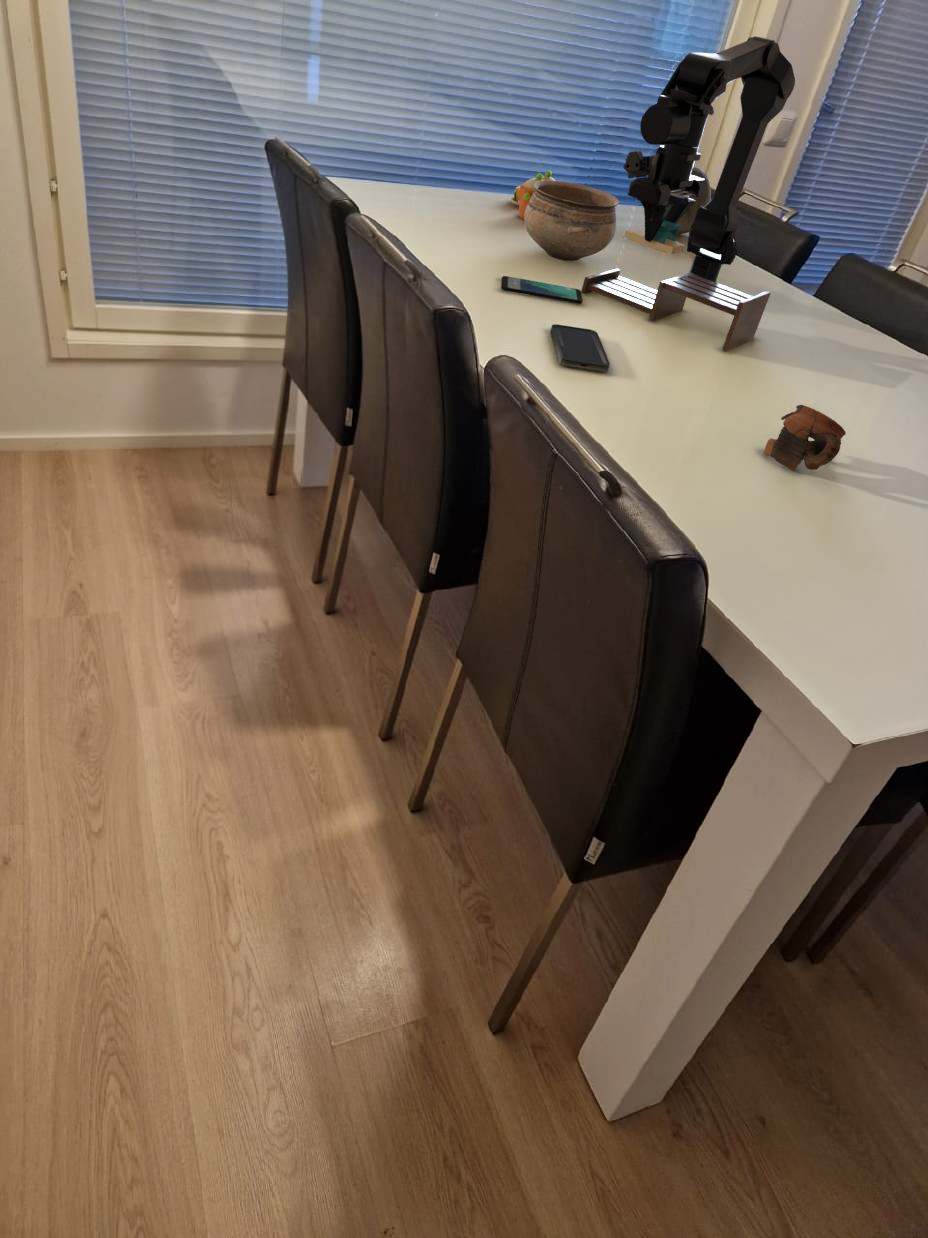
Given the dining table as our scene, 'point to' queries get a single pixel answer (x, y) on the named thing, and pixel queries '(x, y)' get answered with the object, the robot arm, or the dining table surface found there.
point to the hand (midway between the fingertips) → (654, 239)
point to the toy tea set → (527, 192)
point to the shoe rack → (674, 297)
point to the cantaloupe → (690, 214)
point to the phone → (579, 348)
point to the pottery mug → (806, 439)
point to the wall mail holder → (659, 238)
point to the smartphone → (541, 289)
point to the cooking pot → (570, 219)
